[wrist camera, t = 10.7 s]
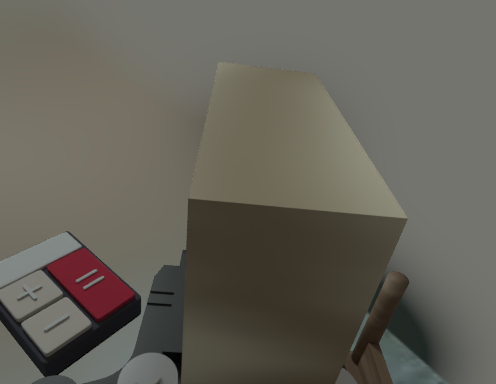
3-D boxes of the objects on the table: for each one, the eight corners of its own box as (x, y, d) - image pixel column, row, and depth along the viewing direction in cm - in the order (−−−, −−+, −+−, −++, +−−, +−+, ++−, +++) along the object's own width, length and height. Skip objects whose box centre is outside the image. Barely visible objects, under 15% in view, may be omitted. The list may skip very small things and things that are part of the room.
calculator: (42, 361, 33) (-32, 268, 39) (49, 386, 35) (-22, 295, 42) (142, 292, 40) (67, 225, 47) (142, 316, 43) (70, 249, 49)
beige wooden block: (172, 591, 12) (188, 197, 4) (192, 407, 17) (218, 61, 9) (243, 591, 13) (408, 218, 4) (242, 409, 18) (315, 73, 9)
